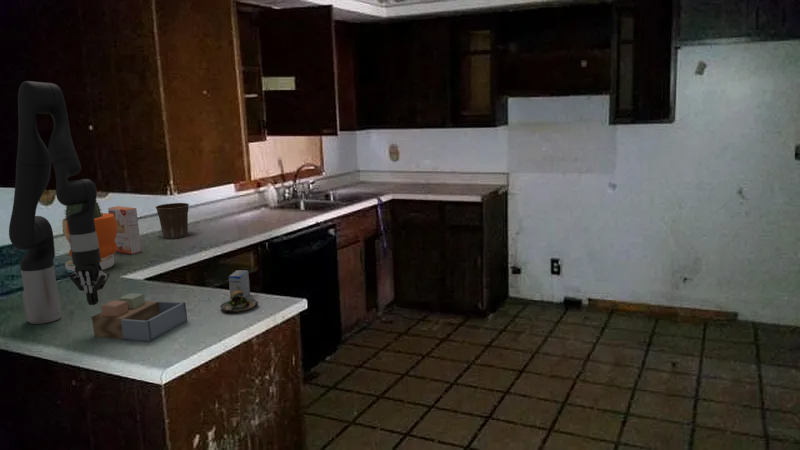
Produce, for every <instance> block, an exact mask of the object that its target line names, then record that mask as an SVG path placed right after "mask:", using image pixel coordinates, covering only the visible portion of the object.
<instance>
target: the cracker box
mask: <svg viewBox="0 0 800 450" xmlns="http://www.w3.org/2000/svg"><path fill="white" fill-rule="evenodd" d="M107 211H108V213H110V214H114V216H115V218H116V222H117V235H116V238H115V242H116V244H117V250H116V252H118V253H121V254H128V255H133V254H138V253H142V252H143V251H142V244H141V234H140V229H139V220H138V219H139V218H138V212H137V208H135V207H128V206H119V205H117V206H111V207H108V208H107ZM116 252H115V253H116Z"/></svg>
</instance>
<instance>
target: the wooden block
mask: <svg viewBox="0 0 800 450" xmlns="http://www.w3.org/2000/svg"><path fill="white" fill-rule="evenodd" d="M144 301H145V303H144V304H142V305H140V306H138V307H136V308H128V312H125V313H123V314H121V315H119V316H117V317H115V316H102V312H99V313H98V314H95V315H93V316H91V320H92V328H93V336H94V337H99V338H109V339H112V338H113V339H123V333H122V326H121V320H122V319H131V320H145V321H147V320H149V319H151V318H153V317H155V316H157V315H159V314H160V310H159V301H147V300H144Z"/></svg>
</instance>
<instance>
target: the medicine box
mask: <svg viewBox="0 0 800 450" xmlns="http://www.w3.org/2000/svg"><path fill="white" fill-rule="evenodd" d="M249 274H250V273H249V270H245V269H244V270H242V269H241V270H237V269H236V270H235V271H234V272H232V273H231V274H230V275H229V276H228V284H229V285H228V286H229V287H228V288H229V297H230V296H231V294H232V293H233V292H234V291H242V292H243V296H242V297H245V298H246V299H247V297H248V296H249V295H250V294H251V289H250V287H251V286H250V277H249ZM234 289H235V290H234Z"/></svg>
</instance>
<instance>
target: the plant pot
mask: <svg viewBox="0 0 800 450" xmlns="http://www.w3.org/2000/svg"><path fill="white" fill-rule="evenodd" d="M189 206H190V204H189V203H186V202H174V203H173V202H171V203H164V204H159V205H157V206H155V209H156V212H157V216H158V218H159V222H160V227H161V232H162V237H163V239H168V240H170V239H171V240H172V239H174V240H176V239H180V238H185V237H187V236H189V229H188V227H189V226H188V225H189V221H188V220H189V219H188V218H189V217H188V213H189Z"/></svg>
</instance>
